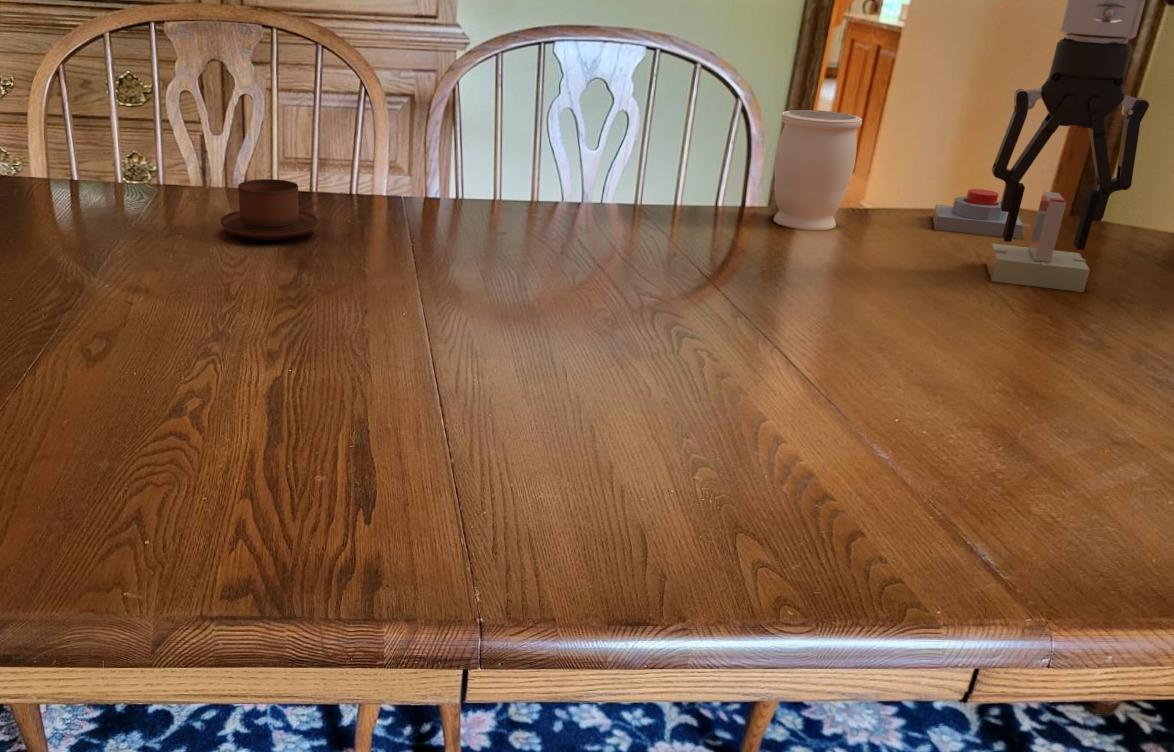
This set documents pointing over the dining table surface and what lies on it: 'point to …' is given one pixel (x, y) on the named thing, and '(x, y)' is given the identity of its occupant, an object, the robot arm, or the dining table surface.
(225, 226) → the cup and saucer
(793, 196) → the jar
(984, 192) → the button
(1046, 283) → the base
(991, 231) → the button box
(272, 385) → the dining table surface
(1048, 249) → the grey flat slab
